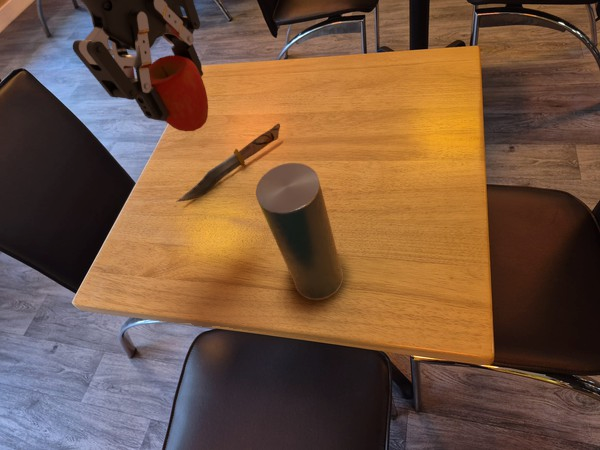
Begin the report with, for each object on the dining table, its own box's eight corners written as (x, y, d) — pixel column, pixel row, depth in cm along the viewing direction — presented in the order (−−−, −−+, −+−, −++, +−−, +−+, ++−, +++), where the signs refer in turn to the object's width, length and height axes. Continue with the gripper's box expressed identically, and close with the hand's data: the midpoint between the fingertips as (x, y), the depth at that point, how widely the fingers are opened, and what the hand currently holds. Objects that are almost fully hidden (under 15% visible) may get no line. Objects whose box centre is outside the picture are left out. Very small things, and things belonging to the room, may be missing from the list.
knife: (182, 211, 83) (171, 194, 79) (179, 207, 84) (168, 190, 80) (286, 142, 88) (280, 123, 84) (282, 139, 89) (276, 120, 85)
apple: (162, 116, 52) (131, 60, 46) (212, 98, 52) (186, 39, 46) (169, 149, 48) (135, 92, 42) (222, 129, 48) (196, 69, 42)
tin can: (332, 306, 65) (303, 219, 48) (286, 291, 68) (244, 204, 51) (350, 263, 69) (329, 168, 52) (306, 251, 72) (273, 157, 55)
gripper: (109, -114, 39) (185, 55, 52) (-12, -34, 32) (112, 138, 45) (175, -122, 36) (239, 59, 49) (58, -36, 29) (169, 149, 42)
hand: (178, 96), depth 47 cm, fingers closed on apple, 6 cm apart
